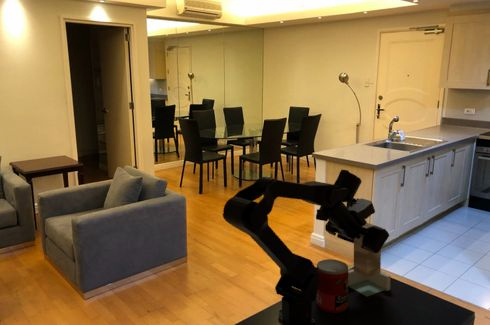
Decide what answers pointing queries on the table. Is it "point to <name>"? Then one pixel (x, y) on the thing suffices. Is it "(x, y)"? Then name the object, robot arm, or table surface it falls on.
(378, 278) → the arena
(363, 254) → the maple block
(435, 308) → the table surface
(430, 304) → the table surface
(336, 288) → the canned food
